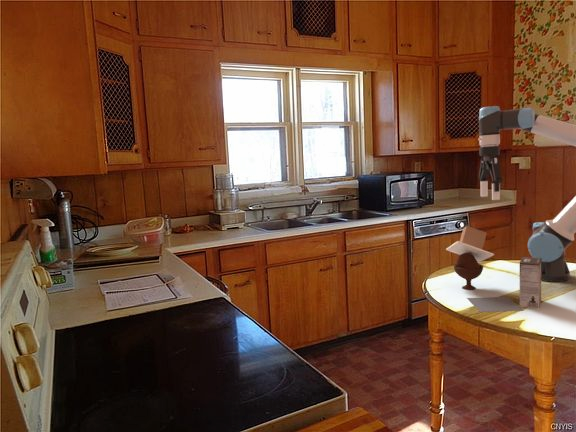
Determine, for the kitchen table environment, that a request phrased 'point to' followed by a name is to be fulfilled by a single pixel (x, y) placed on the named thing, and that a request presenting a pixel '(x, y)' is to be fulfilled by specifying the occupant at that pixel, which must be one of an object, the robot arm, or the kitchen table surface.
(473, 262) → the ice cream bowl
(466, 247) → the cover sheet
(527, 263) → the coffee box
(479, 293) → the kitchen table surface
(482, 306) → the mat
